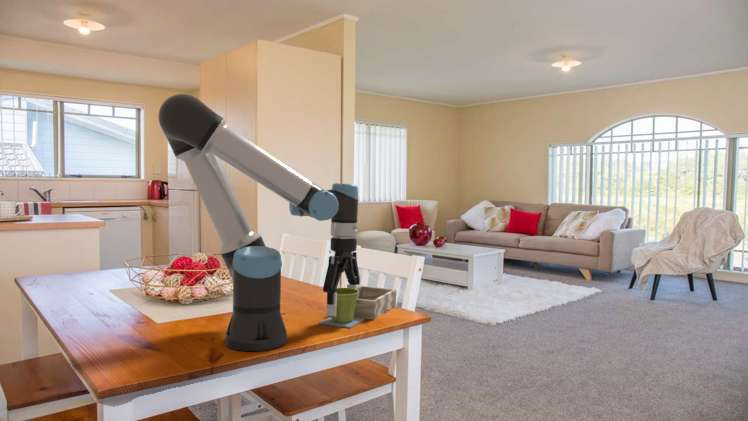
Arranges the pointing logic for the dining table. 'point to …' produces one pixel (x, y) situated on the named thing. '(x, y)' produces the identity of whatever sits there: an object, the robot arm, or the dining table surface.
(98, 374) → the dining table surface
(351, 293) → the plant pot
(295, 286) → the dining table surface
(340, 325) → the mat
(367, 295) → the frame
